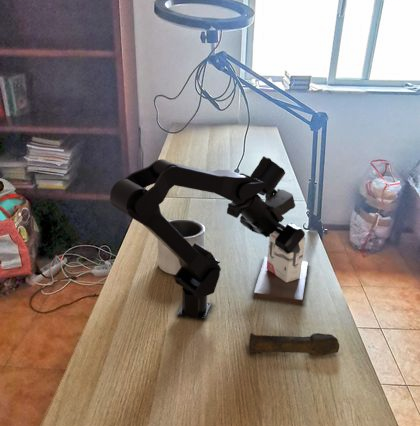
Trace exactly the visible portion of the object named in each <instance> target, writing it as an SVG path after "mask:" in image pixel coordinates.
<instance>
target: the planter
mask: <svg viewBox="0 0 420 426" xmlns="http://www.w3.org/2000/svg"><path fill="white" fill-rule="evenodd" d="M167 220H168V221H169V223H170V224H171V225H172V226H173V227H174V228H175V229H176V230H177V231H178V232H179V233H180V234H181V235H182V236H183V237H184V238H185V239H186V240H187V241H188V242H189V243H190V244H191V245H192V246H193V245H194V243H196V244H198V245H199V246H201V247H203V248H204V249H206V247H205V245H206V227H205V225H203V223H201V222H199V221H197V220H193V219H190V218H189V219H188V218H174V219H167ZM157 264H158V267H159V269H160V270H161V271H163V272H164V273H166V274H169V275H173V276H175V275H176V273H177V272H178V271H179V269H180V268H181V265H180V263H179V259H178V258H177V257H176V256H175V255H174V254H173V253H172V252H171V251H170V250H169V249H168V248H167V247H166V246H165V245H164V244H163V243H162V242H161V241H160V240H159V239H158V238H157Z"/></svg>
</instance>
